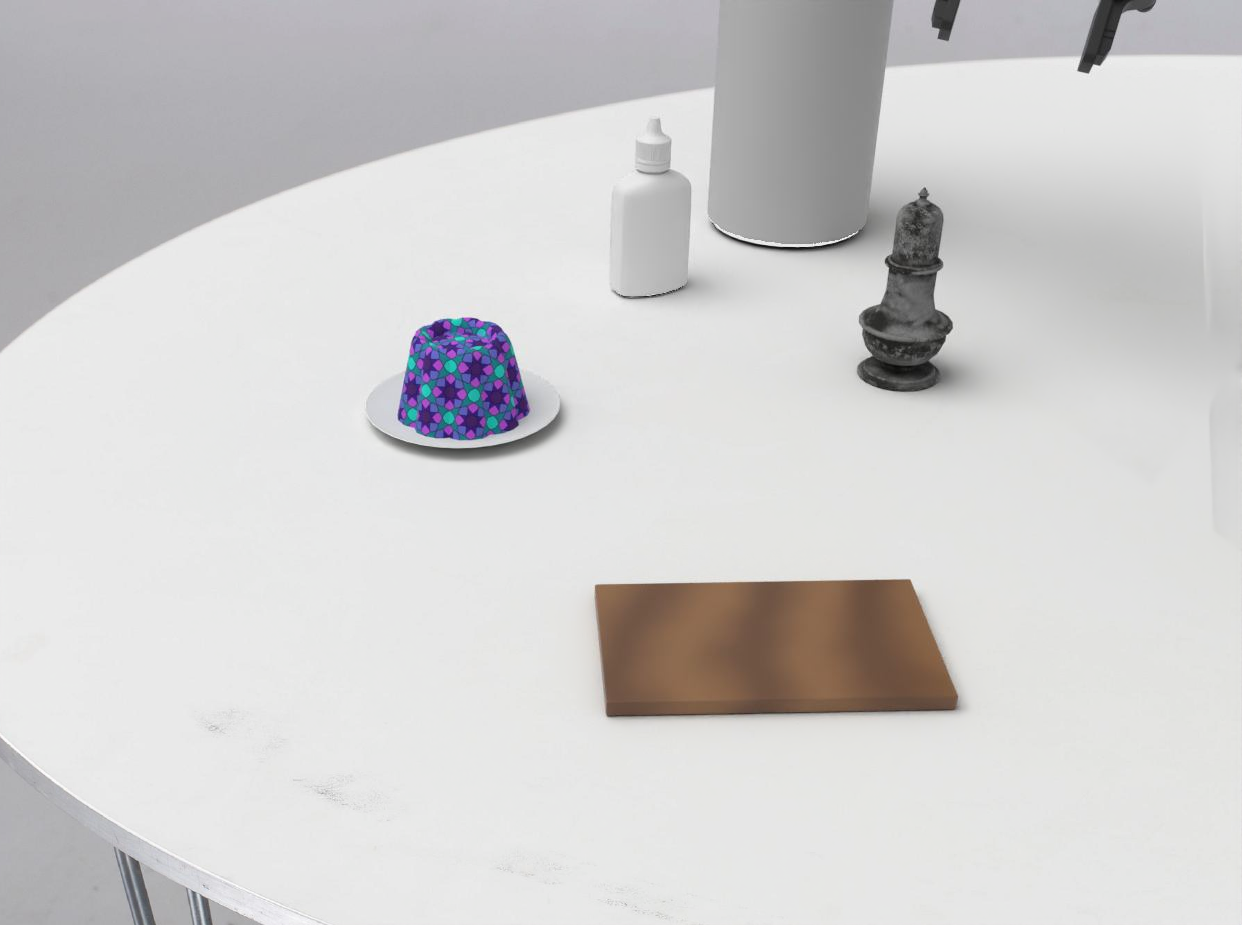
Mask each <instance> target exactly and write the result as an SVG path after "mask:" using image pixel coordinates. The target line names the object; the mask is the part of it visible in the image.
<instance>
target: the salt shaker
mask: <svg viewBox="0 0 1242 925" xmlns="http://www.w3.org/2000/svg"><path fill="white" fill-rule="evenodd" d="M917 196H919V198H918V199H915V200H914V201H910V202H909V203H907V204H904V205H903V206H902V207H901V208H900V209H899V211H898V213H897V215H896V221H895V228H894V237H893V242H892V250H891V254H888V255H886V257H885V259H884V265H885V266H886V267H887V268H888V272H887V280H886V287H885V291H884V294H883V297H882V299H881V302H880V303H879V304H876V305H875V304H874V305H871V306H869V307H867V308H865V309H864V310H862V311H861V313H860V314H859V315H858V324H859V325H860V327H861V328H862V332H861V336H862V339H863V342H864V346H865V347H866V349H867V350H868V352H869V353H870V354H871V356H869V357H866V358H865V359H863V360H861V361H860V362H859V364H858V365H857V367H856V368H857V369H856V373H857V376H858V377H859V379H861V380H862V381H863V382H865V383H867V384H870V385H871V386H874V387H877V388H880V389H884V390H888V391H889V390H890V391H896V392H897V391H899V392H916V391H921V390H926V389H928V388H932V387H934V386H935V385H936V384H938V383H939V381H940V380H941V372H940V370H939V368H938V367H937V366H936V365H934V364H933V363H932V362H931V361H930V360H931V359H933V358H934V357H935V356H937V355H938V353H939V352H940V350H941V349H942V347H943V345H944V344H945V342H946V339H947V336H948V335H950V333H951V332H952V330H953V329H954V322H953V320H952V319H951V317H950V316H949V315H947V314H946V313H944V312H943V311H941V310H938V309H936V304H935V303H936V302H935V289H936V283H937V275H938V272H940V271H941V270H942V269H943V268H944V261H943V260H942V259H941V258H940V257H939V253H940V248H941V240H942V236H943V235H942V234H943V226H944V223H945V222H944V220H945V218H944V212H943V211H942V209H941V208H940V207H939V206H938V205H936V204H935V203H933V202H931V201H930V200H928V197H929V196H930V193H929V191H928V190H927V187H925V186H924V187H923V188H922V189H921V190H920V191H919V192H918V193H917Z"/></svg>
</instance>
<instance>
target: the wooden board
mask: <svg viewBox="0 0 1242 925" xmlns="http://www.w3.org/2000/svg"><path fill="white" fill-rule="evenodd" d="M594 604H595V613H596V614H595V615H596V626H597V634H598V647H599V658H600V665H601V667H600V668H601V678H602V688H603V699H604V709H605V715H606V716H607V717H609V716H611V717H612V716H614V717H615V716H617V717H618V716H663V715H664V716H666V715H667V716H669V715H670V716H671V715H714V714H715V715H716V714H717V715H718V714H719V715H720V714H761V713H762V714H766V713H767V714H771V713H773V714H775V713H776V714H777V713H824V712H825V713H827V712H830V713H831V712H833V713H834V712H878V711H884V712H885V711H932V710H934V711H935V710H936V711H937V710H956V709H957V704H958V698H959V695H958V692H957V690H956V687H955V685H954V683H953V679H952V677H951V675H950V673H949V670H948V668H947V666H946V663H945V661H944V658H943V656H942V653H941V651H940V648H939V646H938V643H937V641H936V639H935V636H934V634H933V631H932V629H931V626H930V623H929V622H928V619H927V616H926V614H925V612H924V610H923V607H922V604H921V602H920V599H919V597H918V594H917V592H916V589H915V586H914V585H913V583H912V580H911V578H899V579H897V578H895V579H839V580H837V579H836V580H835V579H834V580H781V581H780V580H778V581H777V580H774V581H770V580H769V581H724V582H723V581H722V582H721V581H719V582H717V581H716V582H713V581H712V582H661V583H660V582H659V583H657V582H654V583H600V584H599V583H597V584H594Z"/></svg>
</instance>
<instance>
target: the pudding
mask: <svg viewBox="0 0 1242 925" xmlns="http://www.w3.org/2000/svg"><path fill="white" fill-rule="evenodd" d="M512 343H513V342H512V341H511V339H510V337H509V336H508V334H507V333H505V331H504V330H503V328H502V327H501V326H500V325H499V324H497V323H495V322H493V321H489V320H488V321H485V320H480V319H479V318H477V317H471V316H470V317H469V316H466V317H465V316H463V317H459V318H449V317H448V318H441V319H438V320H434V321H433V322H432V323H431V324H427V325H423V326H421V327H420V328H418V329H417V330H416V332H415V333H414V335H413V337H412V339H411V342H410V348H409V351H408V357H407V362H406V368H405V371H402V372H399V373H397V374H395V375H392V376H391V377H389V378H387V379H385V380H383V381H382V382H381V383H379V384H378V385H376V386H375V387H374V388H373V389H372V390H371V391H370V392H369V393H368V395H367V397H366V400H365V402H364V412H365V415H366V418H367V419H368V420H369V421H370V423H371V424H372V425H373V426H374V427H375V428H377V429H378V430H379V431H381V432H382V433H384V434H386V435H389V436H391V437H392V438H395V439H398V440H401V441H404V442H406V443H410V444H415V445H420V446H426V447H431V448H433V447H434V448H440V449H441V448H445V449H474V448H475V449H476V448H482V447H493V446H496V445H502V444H507V443H510V442H514V441H517V440H520V439H523V438H526V437H529V436H530V435H533V434H535V433H537V432H539V431H540V430H542V429H543V428H545V427H546V426H548V425H549V424H550V423H551V422H552V421H553V420H554V419H556V417H557V415H558V414H559V411H560V409H561V405H562V404H561V397H560V394H559V392H558V391H557V390H556V388H555V387H554V385H552V384H551V383H550V382H549V381H548V380H545V379H544V378H542V377H541V376H540V375H537V374H535V373H533V372H531V371H528V370H525V369H522V368H519V364H518V360H517V357H516V353H515V350H514V346H513V344H512Z"/></svg>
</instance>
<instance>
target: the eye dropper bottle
mask: <svg viewBox="0 0 1242 925" xmlns="http://www.w3.org/2000/svg"><path fill="white" fill-rule="evenodd" d="M647 121H648V122H647V125H646V126H647V127H646V130H645V132H644V133H642V134H638V136H637V137H635V151H634V152H635V155H634V156H635V157H634V168H635V170H632V171H631V172H628V173H627V174H625V175H623V176H622V177H621V178H619V179H618V180H617V181H616V182H615V184H614V185H613V186H612V189H611V197H610V199H611V200H610V201H611V202H610V224H609V228H610V229H609V266H608V268H609V270H608V284H609V287H610V289H612V290H613V291H614V292H615V291H616V292H615V293H616V294H618V295H619V294H620V295H619V296H621V295H623V296H647V295H652V294H654V295H655V294H661V293H664V292H669V291H672V290H675V291H677V290H679V289H678V288H679V287H681V288H683V287H685V285H686V284H687V282H688V275H689V274H688V273H689V258H690V257H689V255H690V236H691V219H692V218H691V216H692V184H691V182H690V180H689V178H688V177H686V176H685V175H684V174H682V173H681V172H679V171H677V170H674V169H670V168H671V159H672V158H671V157H672V137H670V136H669V135H668V134H665V133H664V132H663V131H662V125H661V118H660V116H658V115H651V116H649V118H648V120H647ZM682 286H683V287H682ZM676 289H677V290H676ZM672 292H673V291H672ZM669 293H670V292H669ZM661 295H662V294H661ZM623 296H622V297H623Z"/></svg>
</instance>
